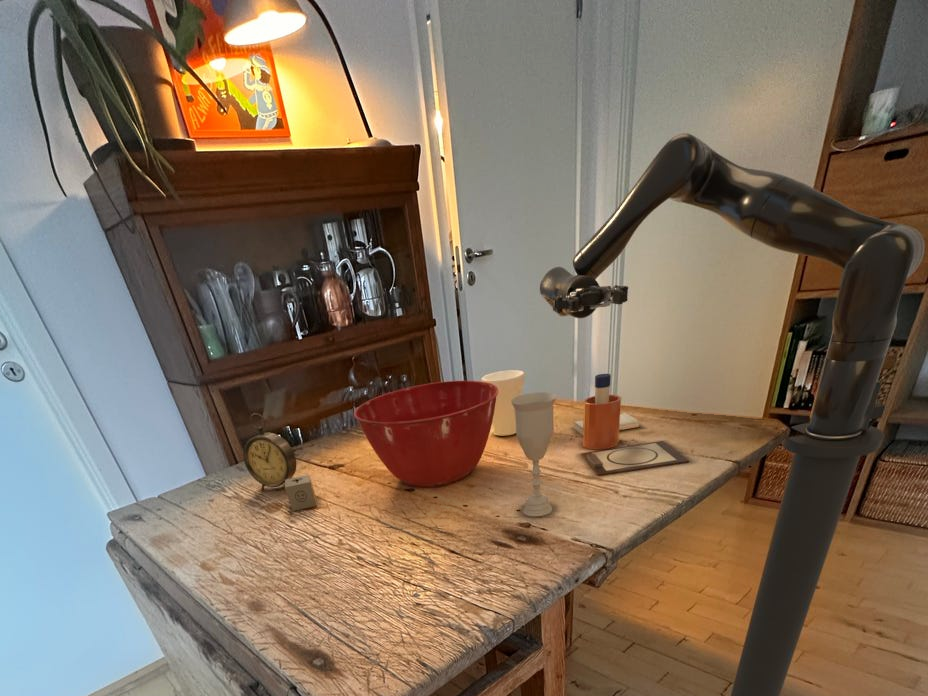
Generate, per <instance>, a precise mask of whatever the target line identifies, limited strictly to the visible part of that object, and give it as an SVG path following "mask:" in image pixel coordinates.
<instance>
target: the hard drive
mask: <svg viewBox="0 0 928 696" xmlns="http://www.w3.org/2000/svg"><path fill="white" fill-rule="evenodd" d="M639 427H640V421H639V419H637V418H635V417H633V416H632V415H630V414H628V413H626V412H623V413H620V430H619V431H625V430H629V429H634V428H639ZM573 429H574V430H575V431H577V433H579V434H580V435H582V436H583V420H578V421H574V422H573Z"/></svg>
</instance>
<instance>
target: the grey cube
mask: <svg viewBox="0 0 928 696" xmlns="http://www.w3.org/2000/svg"><path fill="white" fill-rule="evenodd" d="M284 489H285V494H286V495H287V499H288V503H289V504H290V508H291V511H292V512H296V511H300V510H305V509H308V508H313V507H317V506H318V503H317V502H318V501H317V495H316V493H315V489H314V486H313V482H312V480H311V476H310V474H304V475H300V476H296V477H292V478H291V479H286V480H285V483H284Z"/></svg>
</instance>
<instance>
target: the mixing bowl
mask: <svg viewBox="0 0 928 696" xmlns="http://www.w3.org/2000/svg"><path fill="white" fill-rule="evenodd" d="M497 394H498V388H497V387H496V386H495V385H493V384H490V383H487V382H482V381H481V380H480V381H479V380H445V381H438V382H430V383H424V384H419V385H413V386H409V387H404V388H400V389H397V390H394V391H390V392H387V393H384V394H382V395H381V394H380V395H379V396H376V397H374V398H372V399H369V400H367V401H366V402H363V403H362V404H360V405H359V406H358V407H357V408H356V409H355V410H354V413H353V415H354V418H355V419H357V421H358V423H359V425H360V428H361V430H362V432H363V433H364V436H365V437H366V439H367V441H368V443H369V445H370V446H371V448H372V450H373V451H374V453H375V454H376V455H377V457H378V459H380V461H381V462H382V464H383V466H385V467H386V468H387V470H388V471H389V473H391V474H392V476H393V477H395V478H396V479H397V480H400V481H401V482H403V483H405V484H408V485H409V486H412V487H416V488H438V487H443V486H447V485H450V484H454V483H456V482H458V481H461V480H462V479H464V478H465V477H467V475H469V473H471V472H472V471H473V470H474V469H475V468H476V466H477V465H478V464H479V462H480V460H482V459H481V458H482V456H483V454H484V451H485V448H486V446H487V443H488V440H489V436H490V432H491V429H492V426H493V424H492V420H493V415H494V409H495V403H496V396H497Z"/></svg>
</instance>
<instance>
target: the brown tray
mask: <svg viewBox="0 0 928 696" xmlns="http://www.w3.org/2000/svg"><path fill="white" fill-rule="evenodd" d="M580 456H581V457H582V458H583V460H584V461H585V462H586V463H587V464H588V466H589V467H590V468H591V469H592V470H593V472H594V473H595V474H596V475H597V476H598V477H599V476H605V475H612V474H619V473H626V472H631V471H632V472H633V471H639V470H645V469H653V468H658V467H659V468H660V467H664V466H665V467H667V466H673V465H677V464H678V465H679V464H686V463H689V462H690V460H689V459H688V458H687V457H685V456H684V455H683V454H681V453H680V452H679V451H677V450H676V449H674V448H673V447H671V445H669V444H668V443H667V442H665V441H664V440H660V441H658V440H657V441H653V442H647V443H641V444H632V445H626V446H621V447H615V448H614V447H612V448H607V449H599V450H594V451H587V452H581V453H580Z"/></svg>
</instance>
